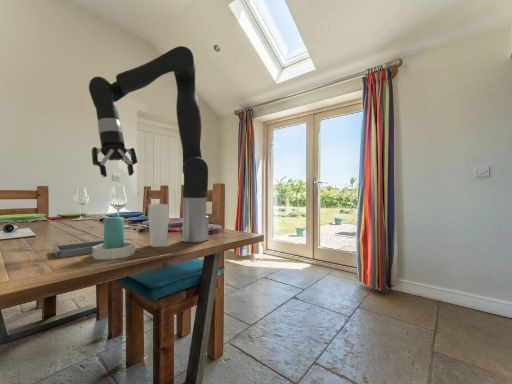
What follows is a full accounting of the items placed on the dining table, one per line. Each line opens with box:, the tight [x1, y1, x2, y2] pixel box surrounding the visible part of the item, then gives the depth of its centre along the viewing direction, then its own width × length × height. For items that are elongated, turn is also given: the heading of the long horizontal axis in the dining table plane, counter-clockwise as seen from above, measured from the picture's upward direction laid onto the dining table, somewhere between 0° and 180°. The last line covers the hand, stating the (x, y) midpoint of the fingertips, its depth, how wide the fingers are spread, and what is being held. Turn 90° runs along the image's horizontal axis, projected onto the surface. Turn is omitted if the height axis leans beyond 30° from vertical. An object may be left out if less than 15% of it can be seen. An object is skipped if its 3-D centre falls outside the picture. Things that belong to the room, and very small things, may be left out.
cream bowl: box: [91, 241, 136, 260], centre depth 73 cm, size 10×10×3 cm
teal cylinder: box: [103, 216, 125, 249], centre depth 73 cm, size 5×5×11 cm
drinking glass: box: [147, 203, 170, 248], centre depth 86 cm, size 7×7×15 cm
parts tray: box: [53, 239, 104, 259], centre depth 77 cm, size 15×9×2 cm, turn 135°
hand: (118, 175), depth 89 cm, fingers open, 8 cm apart
